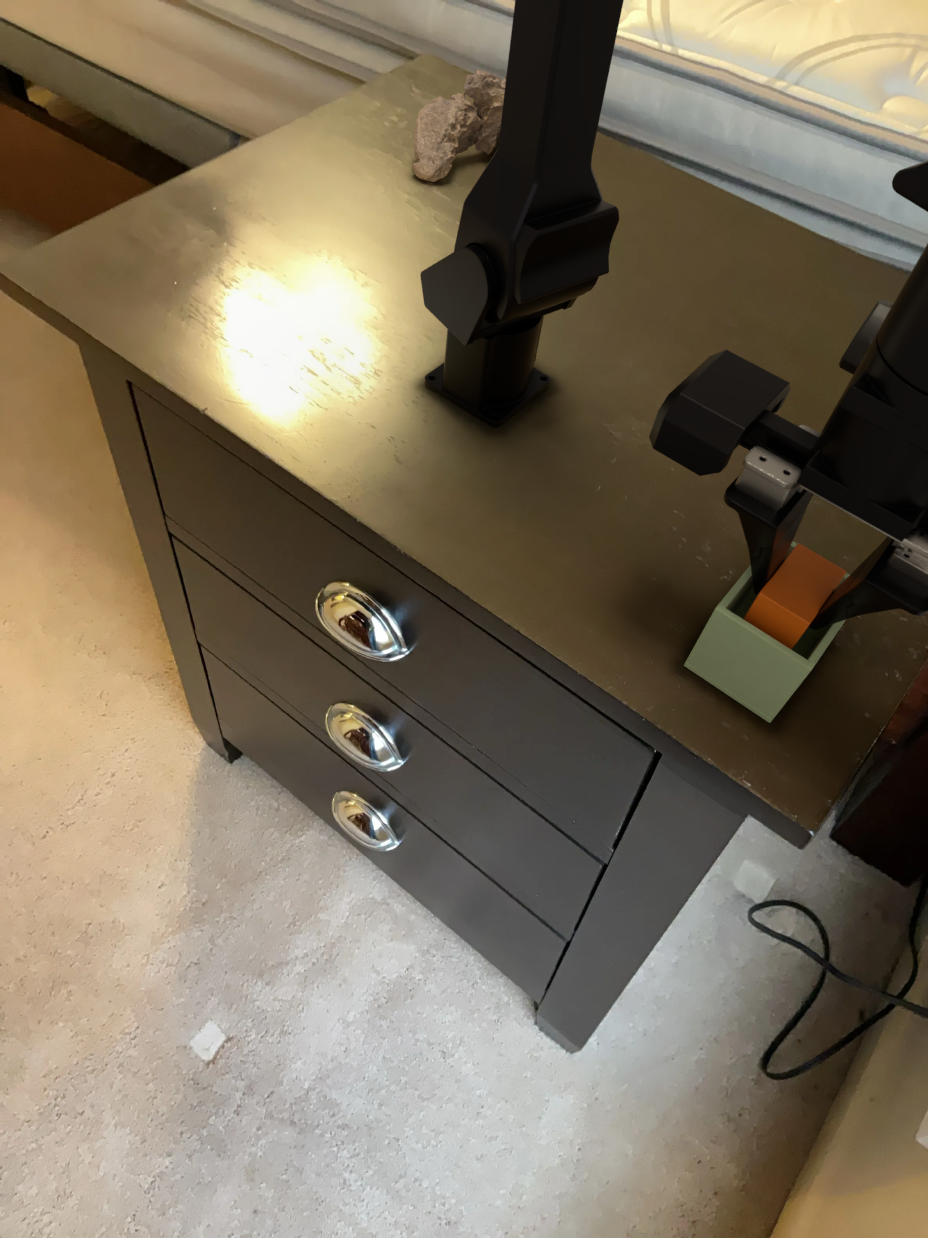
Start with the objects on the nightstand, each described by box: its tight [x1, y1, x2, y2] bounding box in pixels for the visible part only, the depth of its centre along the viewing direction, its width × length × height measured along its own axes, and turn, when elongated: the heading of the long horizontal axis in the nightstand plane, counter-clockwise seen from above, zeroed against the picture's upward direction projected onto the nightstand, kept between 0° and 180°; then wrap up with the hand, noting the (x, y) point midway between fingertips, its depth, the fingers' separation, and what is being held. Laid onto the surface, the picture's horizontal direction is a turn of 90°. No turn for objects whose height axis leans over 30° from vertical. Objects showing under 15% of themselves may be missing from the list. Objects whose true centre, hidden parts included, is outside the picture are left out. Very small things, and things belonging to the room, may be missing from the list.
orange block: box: [744, 543, 847, 650], centre depth 45 cm, size 4×3×3 cm, turn 141°
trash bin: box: [683, 540, 851, 724], centre depth 46 cm, size 7×5×5 cm
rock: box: [412, 69, 507, 183], centre depth 75 cm, size 6×14×7 cm, turn 113°
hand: (787, 606), depth 45 cm, fingers closed on orange block, 3 cm apart
